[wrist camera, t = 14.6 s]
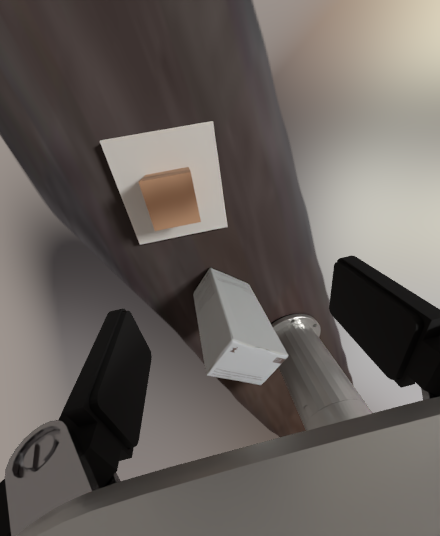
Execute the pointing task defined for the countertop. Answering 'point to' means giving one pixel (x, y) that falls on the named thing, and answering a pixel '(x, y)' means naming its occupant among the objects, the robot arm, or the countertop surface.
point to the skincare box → (235, 331)
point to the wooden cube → (170, 198)
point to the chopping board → (164, 159)
